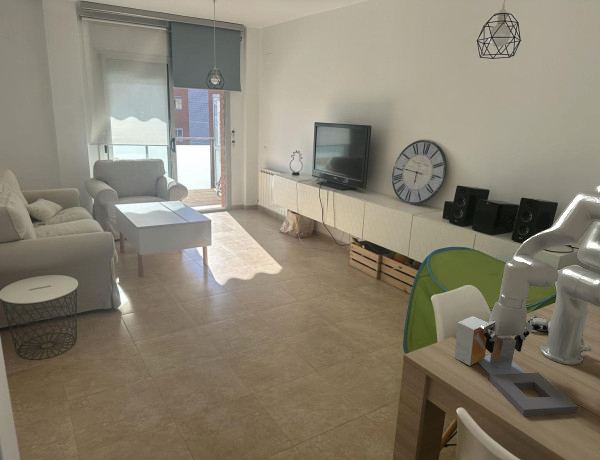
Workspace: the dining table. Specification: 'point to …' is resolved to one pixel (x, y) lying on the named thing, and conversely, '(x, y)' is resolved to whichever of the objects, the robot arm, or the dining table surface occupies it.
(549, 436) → the dining table surface
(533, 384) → the socket block
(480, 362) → the blue pad
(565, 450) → the dining table surface
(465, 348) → the small box
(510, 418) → the dining table surface
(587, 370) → the dining table surface
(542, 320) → the robot toy
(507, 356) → the steel plug
